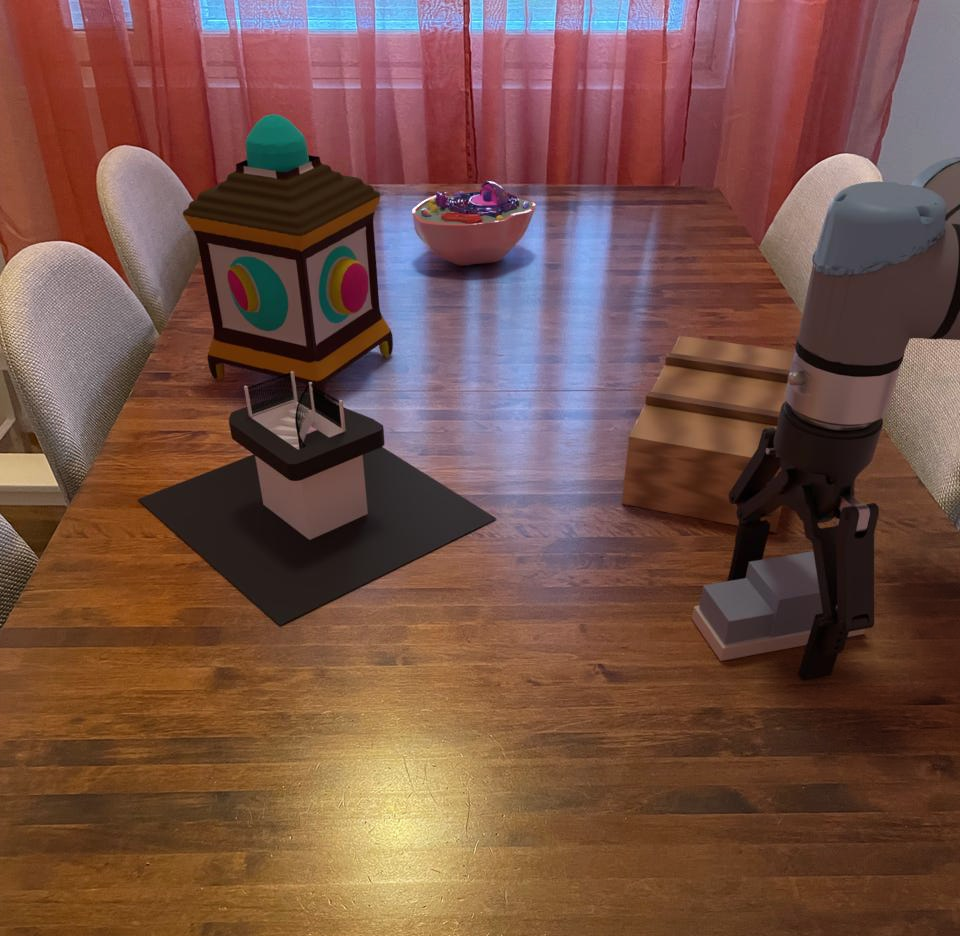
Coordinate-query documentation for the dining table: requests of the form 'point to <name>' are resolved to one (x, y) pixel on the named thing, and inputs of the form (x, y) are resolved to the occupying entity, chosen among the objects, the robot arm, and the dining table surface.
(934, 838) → the dining table surface
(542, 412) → the dining table surface
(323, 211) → the decorative lantern
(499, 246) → the cell model
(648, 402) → the stepped wooden block
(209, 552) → the black-topped pedestal
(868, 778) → the dining table surface
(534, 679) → the dining table surface
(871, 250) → the robot arm
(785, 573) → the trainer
